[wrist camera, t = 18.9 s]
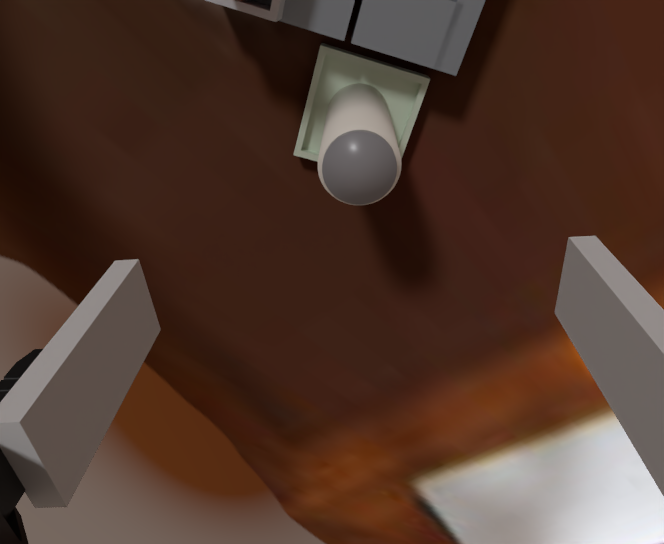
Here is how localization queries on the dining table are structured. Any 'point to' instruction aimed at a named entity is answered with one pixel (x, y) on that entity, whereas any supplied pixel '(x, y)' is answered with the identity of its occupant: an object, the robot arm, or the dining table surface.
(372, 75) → the tray
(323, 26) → the housing
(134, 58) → the dining table surface
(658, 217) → the dining table surface
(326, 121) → the cylinder
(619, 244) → the dining table surface
